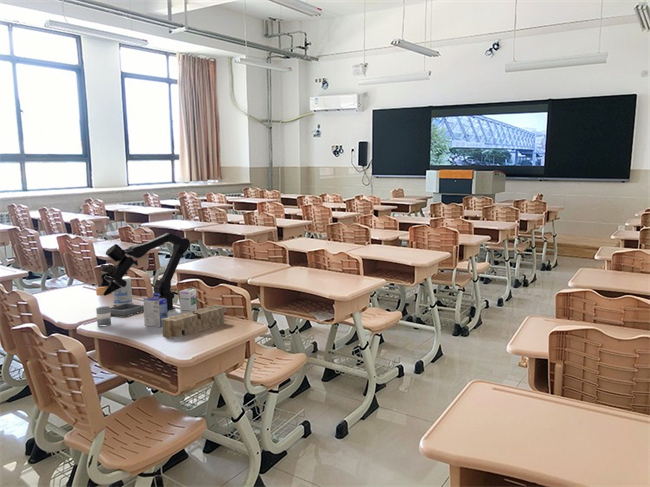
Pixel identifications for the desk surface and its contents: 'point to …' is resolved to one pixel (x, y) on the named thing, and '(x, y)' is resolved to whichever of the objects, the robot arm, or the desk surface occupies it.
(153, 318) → the ink cartridge box
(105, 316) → the cylinder
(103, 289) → the snap cap
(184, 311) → the syrup box
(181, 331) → the block tower
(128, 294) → the supplement tub
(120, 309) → the lid tray
